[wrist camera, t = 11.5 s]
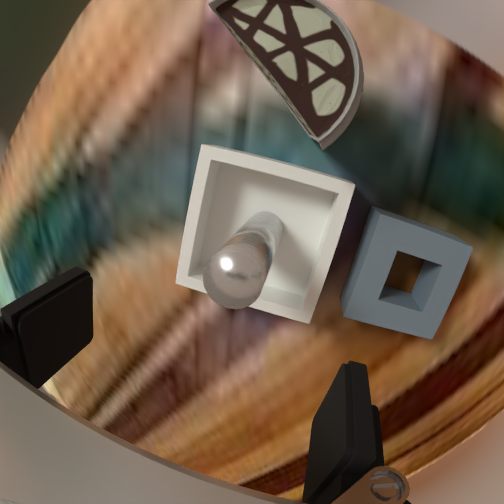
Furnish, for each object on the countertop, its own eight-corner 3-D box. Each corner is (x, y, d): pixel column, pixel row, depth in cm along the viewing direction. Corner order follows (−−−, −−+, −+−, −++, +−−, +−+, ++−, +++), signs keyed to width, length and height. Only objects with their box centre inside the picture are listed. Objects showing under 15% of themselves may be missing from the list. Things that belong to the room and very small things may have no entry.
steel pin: (287, 216, 27) (269, 261, 16) (277, 251, 29) (254, 316, 17) (251, 206, 28) (208, 244, 16) (242, 241, 29) (198, 298, 18)
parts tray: (349, 180, 27) (355, 184, 23) (310, 303, 30) (309, 324, 27) (216, 145, 28) (201, 144, 24) (191, 267, 32) (175, 283, 28)
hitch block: (455, 235, 26) (473, 247, 22) (420, 319, 29) (431, 339, 25) (371, 205, 27) (380, 213, 23) (339, 296, 30) (342, 316, 26)
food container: (377, 115, 24) (410, 97, 15) (319, 151, 26) (323, 150, 17) (293, 9, 23) (283, -49, 13) (238, 44, 25) (203, -2, 15)
